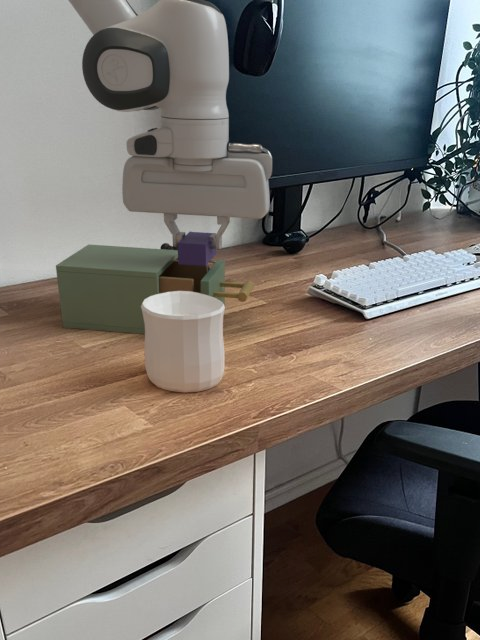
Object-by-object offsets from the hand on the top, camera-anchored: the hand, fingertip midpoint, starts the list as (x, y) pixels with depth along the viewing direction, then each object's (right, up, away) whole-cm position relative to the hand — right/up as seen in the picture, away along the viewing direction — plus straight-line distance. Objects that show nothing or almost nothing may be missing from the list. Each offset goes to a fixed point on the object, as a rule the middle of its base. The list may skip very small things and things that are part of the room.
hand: (197, 247), depth 98 cm
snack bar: (0, -1, +1) cm, 2 cm away
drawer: (-2, -9, +5) cm, 11 cm away
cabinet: (-12, -9, +7) cm, 16 cm away
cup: (0, -20, -12) cm, 23 cm away
